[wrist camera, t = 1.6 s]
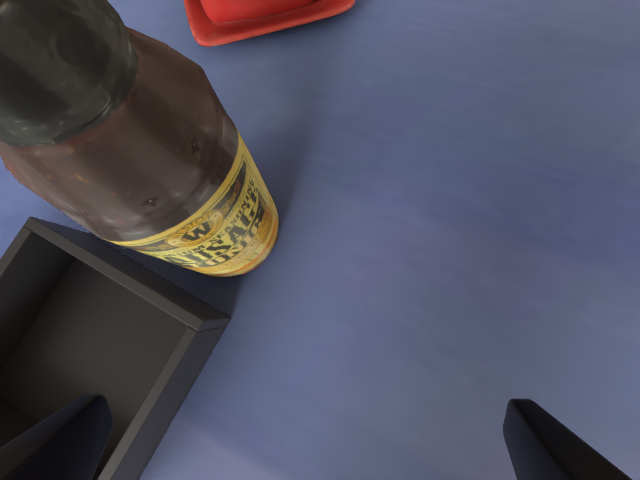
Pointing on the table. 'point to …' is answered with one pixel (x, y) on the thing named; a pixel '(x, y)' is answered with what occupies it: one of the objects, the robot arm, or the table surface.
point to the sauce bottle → (128, 138)
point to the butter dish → (254, 17)
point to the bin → (96, 340)
